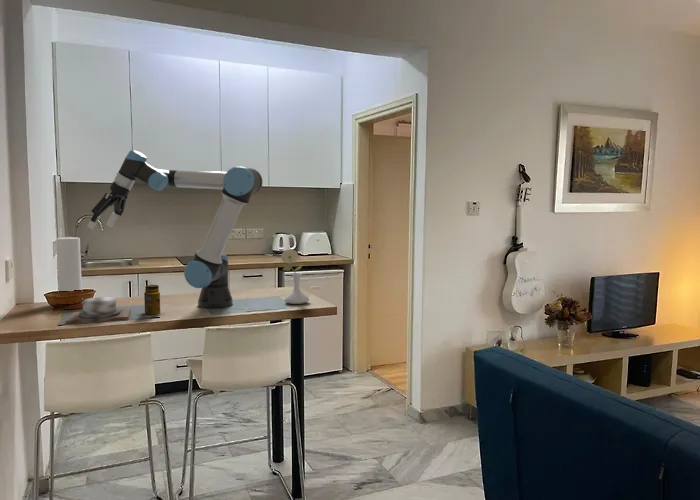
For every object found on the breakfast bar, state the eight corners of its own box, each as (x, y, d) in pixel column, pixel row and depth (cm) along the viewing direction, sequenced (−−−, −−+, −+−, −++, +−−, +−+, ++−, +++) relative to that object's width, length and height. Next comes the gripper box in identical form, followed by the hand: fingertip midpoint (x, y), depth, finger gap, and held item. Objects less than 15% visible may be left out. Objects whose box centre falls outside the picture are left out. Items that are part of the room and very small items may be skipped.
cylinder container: (72, 305, 234) (69, 238, 232) (54, 304, 236) (51, 237, 233) (87, 301, 244) (84, 236, 241) (69, 300, 246) (66, 236, 243)
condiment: (165, 313, 219) (164, 285, 218) (148, 317, 212) (147, 288, 211) (152, 311, 223) (151, 283, 222) (136, 315, 216) (135, 286, 214)
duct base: (131, 311, 222) (130, 295, 221) (128, 319, 208) (127, 301, 207) (72, 315, 215) (71, 297, 214) (66, 323, 201) (65, 305, 200)
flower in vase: (311, 301, 247) (311, 248, 245) (306, 306, 236) (306, 250, 234) (283, 300, 249) (283, 247, 246) (278, 305, 237) (277, 250, 235)
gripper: (130, 180, 236) (109, 221, 239) (97, 179, 211) (74, 223, 214) (144, 189, 236) (122, 229, 239) (113, 188, 211) (89, 233, 214)
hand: (99, 227), depth 227 cm, fingers open, 13 cm apart
